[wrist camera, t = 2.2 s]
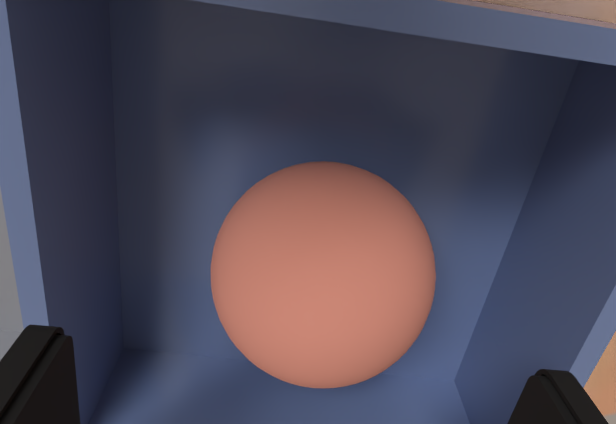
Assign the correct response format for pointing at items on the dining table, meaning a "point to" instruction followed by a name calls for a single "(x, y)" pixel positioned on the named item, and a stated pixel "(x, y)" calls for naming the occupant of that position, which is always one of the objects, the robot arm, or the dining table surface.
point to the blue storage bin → (296, 150)
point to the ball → (323, 274)
